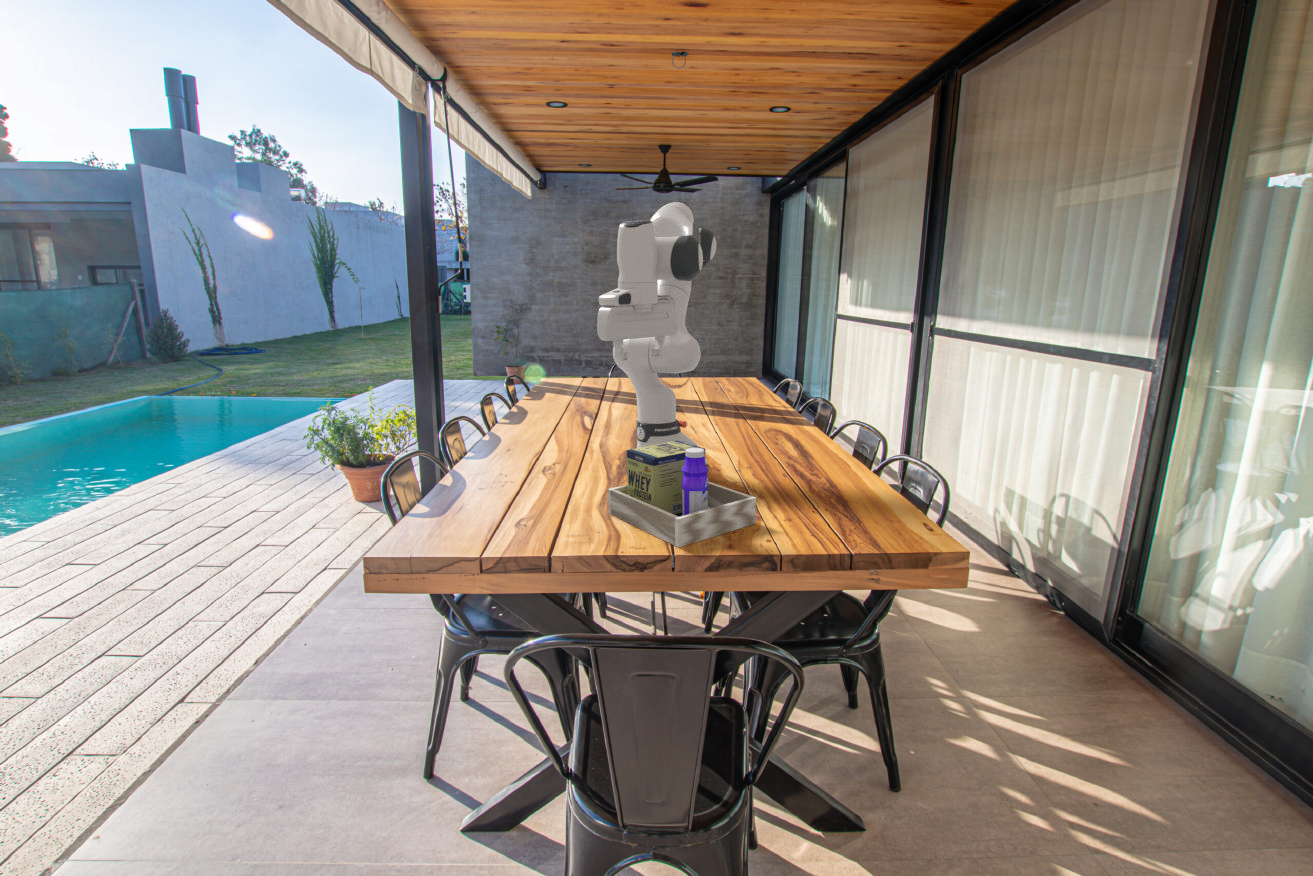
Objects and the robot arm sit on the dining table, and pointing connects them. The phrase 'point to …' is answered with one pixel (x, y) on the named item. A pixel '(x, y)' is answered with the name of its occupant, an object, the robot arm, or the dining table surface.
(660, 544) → the dining table surface
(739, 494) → the crate
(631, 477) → the protein box
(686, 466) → the bottle
